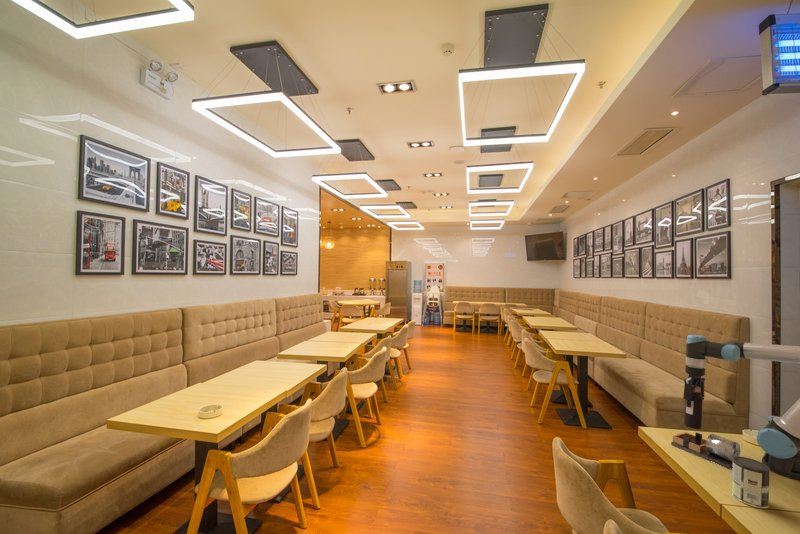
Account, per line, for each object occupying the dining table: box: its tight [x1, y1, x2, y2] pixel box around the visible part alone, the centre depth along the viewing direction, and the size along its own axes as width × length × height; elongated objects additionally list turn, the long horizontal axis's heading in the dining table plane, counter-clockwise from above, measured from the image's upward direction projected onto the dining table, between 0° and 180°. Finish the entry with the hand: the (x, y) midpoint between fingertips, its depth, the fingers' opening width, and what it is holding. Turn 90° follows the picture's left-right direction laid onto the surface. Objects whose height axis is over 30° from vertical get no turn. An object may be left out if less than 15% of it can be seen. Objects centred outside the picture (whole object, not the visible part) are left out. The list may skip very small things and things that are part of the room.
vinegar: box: [683, 385, 704, 430], centre depth 175 cm, size 7×7×20 cm
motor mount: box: [670, 432, 741, 469], centre depth 170 cm, size 23×13×10 cm, turn 25°
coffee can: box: [731, 456, 771, 510], centre depth 135 cm, size 10×10×14 cm
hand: (693, 412), depth 175 cm, fingers closed on vinegar, 6 cm apart
